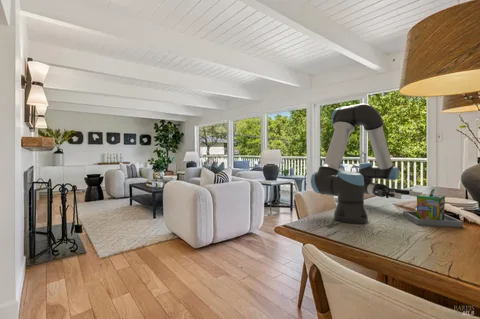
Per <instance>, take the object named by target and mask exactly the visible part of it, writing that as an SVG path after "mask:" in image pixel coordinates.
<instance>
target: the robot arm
mask: <svg viewBox="0 0 480 319" xmlns="http://www.w3.org/2000/svg"><path fill="white" fill-rule="evenodd" d="M330 121H331V124H332V127H333V128H334V131H333V133H332V136H331V140H330V142H329V146H328V150H327V153H326V155H325V157H324V158H325V159H324V162H323V165H320V166H319V167H318V170H317V171H315V172H313V173H312V174H311V176H310V185H311V188H312V190H313V192H314V193H317V194H321V195H326V196H334V197H337V204H336V207H335V209H334V213H333V219H334V220H336V221H338V222H341V223H347V224H364V223H365V224H366V223H368V221H369V216H368V213H367V211H366V207H365V202H364V201H365V195H371V196H373V197H375V196H376V197H380V198H386V199H389V198H393V199H397V200H402V195H403V196H410V197H413V198H414V197H415V198H417V196H418V195H420V194H423V192H421V191H415V190H413V189H411V188H410V189H404V188H394V187H393V188H392V187H388V186H387V185H386V184H383V183H379V182H378V183H377V182H373V179H375V180H376V179H377V180H388V181H391V180H393V181H394V180H395V181H396V180H398V179H399V177H400V169H399V167H397V166H394V165H393V162H392V159H391V154H390V151H389V148H388V143H387V140H386V136H385V133H384V128H383V127H384V125H385V124H384V120H383V117H382V115H381V114H380V113H379V111H378V110H377V109H376V108H375V107H374V106H372V105H370V104H367V103H359V104H352V105H347V106H346V105H345V106H344V105H343V106H341V107H337V108H335V109H334V110H333V112H332V114H331V120H330ZM357 126H362V127H363V130H365V131H366V132H367V135H368V139H369V142H370V145H371V146H370V147H371V149H372V151H373V155H374V159H375V161H376V166H375V165H373V163H372V162H361V163H359V165H358V168H359V169H358V172H355V171H349V170H340V168H341V165H342V162H343V158H344V154H345V152H346V148H347V145H348V142H349V139H350V135H351V133H353V132H354V131H355V128H356V127H357Z"/></svg>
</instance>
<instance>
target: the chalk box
mask: <svg viewBox="0 0 480 319" xmlns="http://www.w3.org/2000/svg"><path fill="white" fill-rule="evenodd" d="M434 193H435V188H433V189H431V191H430V193H422V194H420V195H418V196H417V197H416V211H417V218H418V219H427V220H444V214H445V206H446V196H445V195H438V194H434Z"/></svg>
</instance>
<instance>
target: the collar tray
mask: <svg viewBox="0 0 480 319" xmlns="http://www.w3.org/2000/svg"><path fill="white" fill-rule="evenodd" d="M402 217H405V218H406V219H408V220H409V221H411V222H412V223H414V224H416V225H417V226H424V227H425V226H426V227H427V226H428V227H429V226H430V227H445V228H446V227H448V228H464V227H463V225H464V224H463V223H464V221H462V220H460V219H458V218H454V217H453V216H450V215H448V214H446V213H444V220H427V219H418V218H417V210H416V211H415V210H414V211H413V210H411V211H409V210H402Z"/></svg>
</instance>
